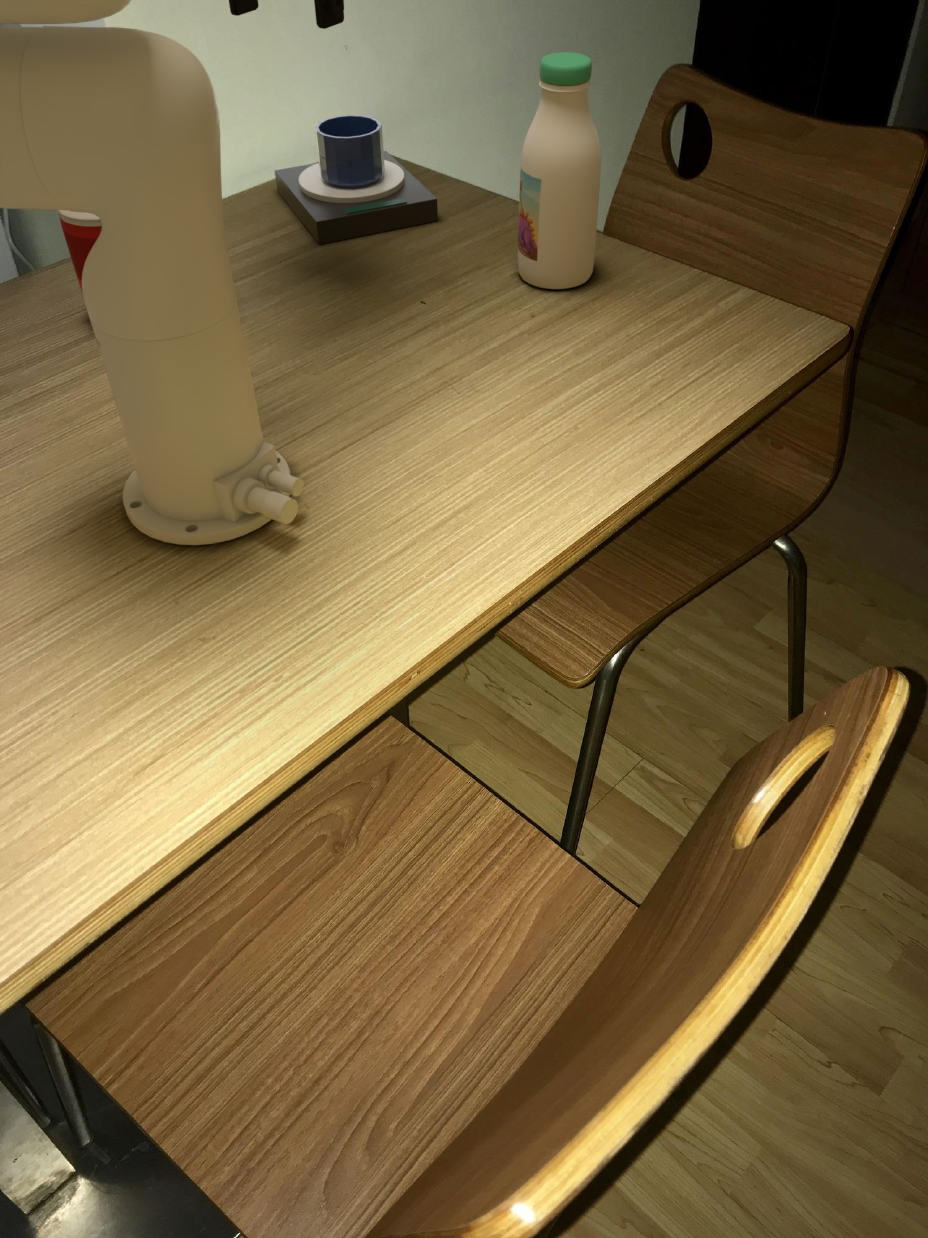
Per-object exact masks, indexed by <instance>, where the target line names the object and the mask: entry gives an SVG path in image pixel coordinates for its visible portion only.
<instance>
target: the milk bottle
mask: <svg viewBox="0 0 928 1238" xmlns="http://www.w3.org/2000/svg"><path fill="white" fill-rule="evenodd" d="M592 71H593V62H592V59H591V58H590V56H587V55H586V54H583V53H579V52H571V51H561V52H554V53H549V54H546V55H544V56H543V57H542V58H541V59H540V63H539V78H540V79H539V87H540V88H541V95H540V99H539V104H538V107H537V110H536V113H535V115H534V116H533V117H534V118H533V120H532V122H531V124H530V126H529V129H528V131H527V133H526V136H525V139H524V141H523V146H522V152H521V158H520V174H519V194H518V195H519V198H518V199H519V200H518V235H517V236H518V237H517V239H518V240H517V272H518V275H519V276H520V277H521V279H522V280H523V281H524V282H526V283H528V284H529V285H532V286H534V287H537V288H541V289H548V290H549V289H550V290H563V289H564V290H565V289H570V288H575V287H579V286H581V285H583V284H585V283H586V282H587V281H589V279H590V277H591V276H592V274H593V272H594V265H595V255H596V254H595V253H596V242H597V231H598V230H597V228H598V215H599V201H600V188H601V169H602V154H601V143H600V139H599V135H598V132H597V128H596V125H595V122H594V120H593V117H592V114H591V109H590V106H589V98H588V90H589V88H590V86H591V85H592V84H591V77H592Z"/></svg>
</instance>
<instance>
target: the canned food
mask: <svg viewBox="0 0 928 1238" xmlns="http://www.w3.org/2000/svg"><path fill="white" fill-rule="evenodd" d="M57 215H58V218H59V219H58V220H59V222H60V226H61V229H62V233H63V237H64V239H65V242H66V245H67V249H68V252H69V255H70V259H71V262H72V265H73V269H74V271H75V275H76V278H77V282H78V285H79V288H80V291H81V295H82V298H83V299H84V297H83V291H82V272H83V268H84V264H85V261H86V259H87V257H88V254H89V253H90V251H91V249H92V247H93V245H94V244H95V242H96V241H97V239H98V237H99V235H100V233H101V230H102V222H101V219H100V218H99V217H98V216H96V215H95V214H91V213H85V212H72V211H68V210H57Z"/></svg>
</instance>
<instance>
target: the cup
mask: <svg viewBox="0 0 928 1238" xmlns="http://www.w3.org/2000/svg"><path fill="white" fill-rule="evenodd" d="M314 131H315V132H314V133H315V140H316V149H317V158H318V163H319V168H320V175H321V177H322V179H324V180H325V181H327V183H329V184H330V185H332V186H336V187H340V188H360V187H365V186H369V185H372V184H374V183H376V182H377V181H378V180H379V179H380V178H381V177H382V176H383V175H384V173H385V165H384V151H385V150H384V137H383V135H384V134H383V125H382V123H381V121H380V119H379V120H378V119H376V118H374V117H371V116H368V115H367V116H366V115H361V114H346V115H344V114H343V115H336V116H332V117H328V118H325V119H323V120H321V121H319V122H317V124H316V125H315V126H314Z"/></svg>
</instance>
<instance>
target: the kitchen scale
mask: <svg viewBox="0 0 928 1238" xmlns="http://www.w3.org/2000/svg"><path fill="white" fill-rule="evenodd" d="M384 165H385V173H384V175H383V176H382V177H381V178H380V179H379V180H378V181H377V182H376V183H374V184H372V185H369V186H365V187H360V188H340V187H336V186H332V185H330V184H329V183H327V181H325V180H324V179H322V177H321V175H320V168H319V162H315V163H309V164H303V165H297V166H292V167H286V168H281V169H275V170H274V176H275V177H274V178H275V183H276V190H277V193H278V194H279V196H280V197H281V198H282V199H283V200H284V202H285V203H286V205H288V207H289V208H290V209H291V210H292V212H293V213H294V214H295V216H296V217H297V219H298V220H299V221H300V222H301V224H302V225H303V226H304V227H305V228H306V230H308V232H309V234H310V235H311V237H313V239H314V240H315V241H316V242H317V244H318V245H323V244H329V243H334V242H338V241H344V240H349V239H354V238H358V237H364V236H369V235H374V234H379V233H384V232H390V231H393V230H399V229H404V228H410V227H414V226H420V225H425V224H429V223H434V222H438V221H439V216H438V215H439V213H438V198H437V197H436V196H435V195H434V194H433V193H432V192H431V191H429V189H428V188H427V187H425V185H424V184H422V183H421V182H420V181H419V180H418V179H417V178H416V177H415V176H413V175H412V174H411V173H410V172H409V171H408V170H407V168H405V167H404V166H403V165H402V164H401V163H400V162H398V161H397V159H396V158H394V157H393V156H392V155H391V154H390V153H389V152H388V151H387V150H384Z"/></svg>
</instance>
